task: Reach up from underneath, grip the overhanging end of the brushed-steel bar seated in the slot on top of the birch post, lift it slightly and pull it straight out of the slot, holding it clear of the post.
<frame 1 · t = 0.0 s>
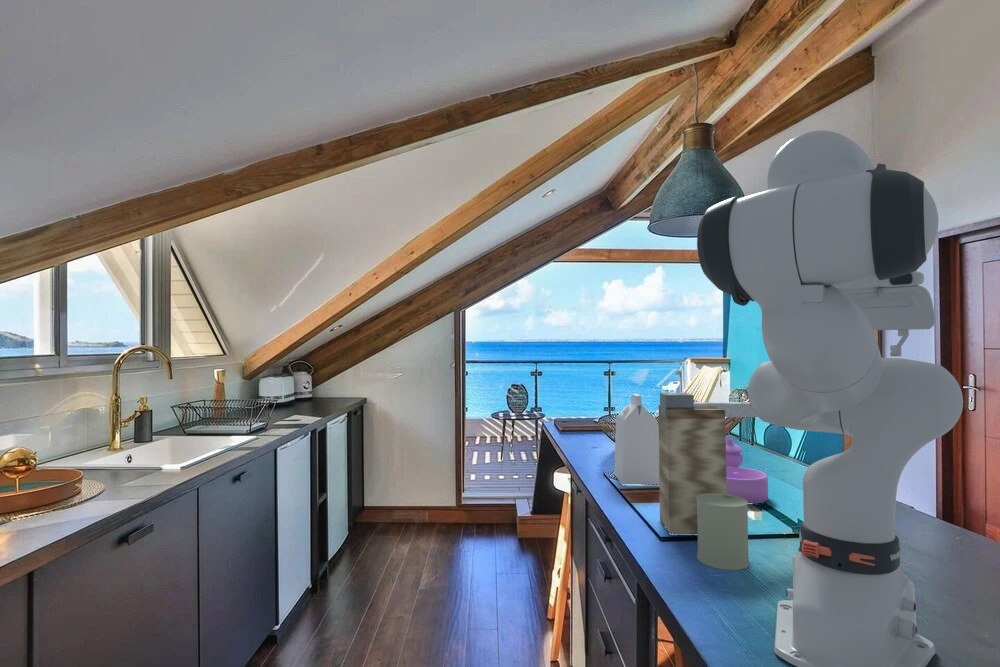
hand: (863, 355, 95), 39 cm above the worktop, tool pointing down, fingers open, 8 cm apart
post: (692, 528, 119), on the worktop
soupspoon: (838, 579, 94), on the worktop
can: (722, 561, 101), on the worktop
steel bar: (676, 415, 120), point 25 cm above the worktop, touching post
container set: (734, 492, 148), on the worktop
milk: (637, 481, 160), on the worktop
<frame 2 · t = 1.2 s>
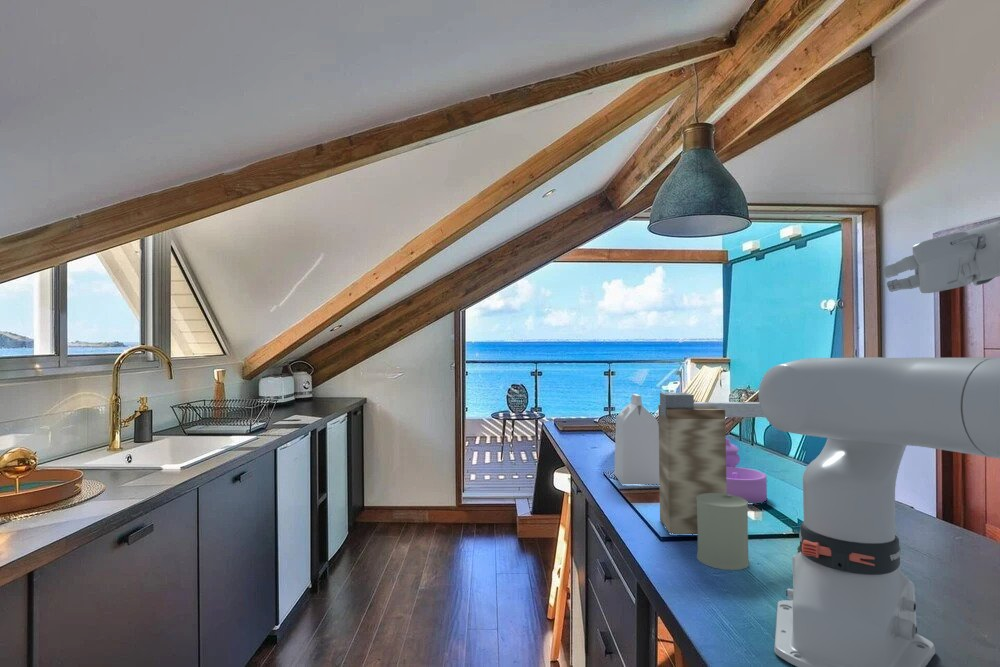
hand: (885, 280, 98), 53 cm above the worktop, tool tilted 75°, fingers open, 8 cm apart
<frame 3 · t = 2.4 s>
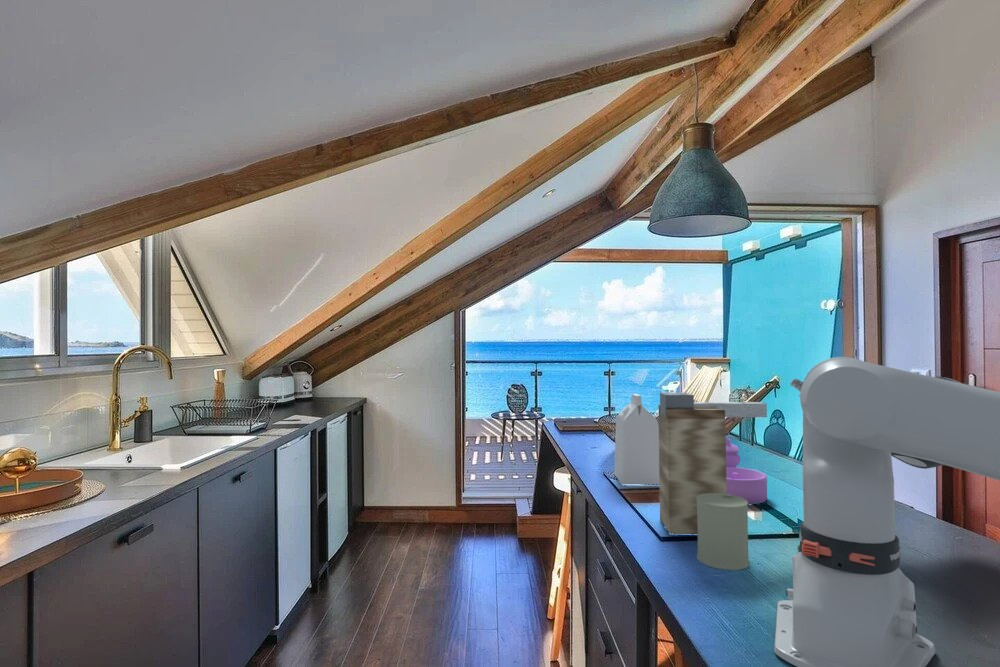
hand: (802, 382, 117), 32 cm above the worktop, tool pointing upward, fingers open, 8 cm apart
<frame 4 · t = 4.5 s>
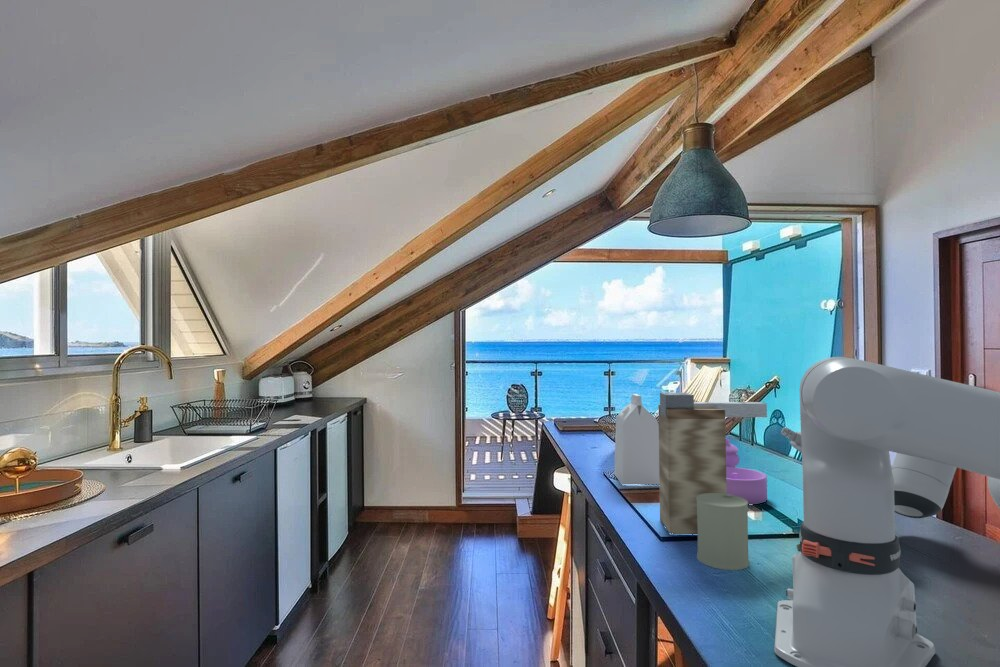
hand: (792, 433, 118), 21 cm above the worktop, tool pointing upward, fingers open, 8 cm apart
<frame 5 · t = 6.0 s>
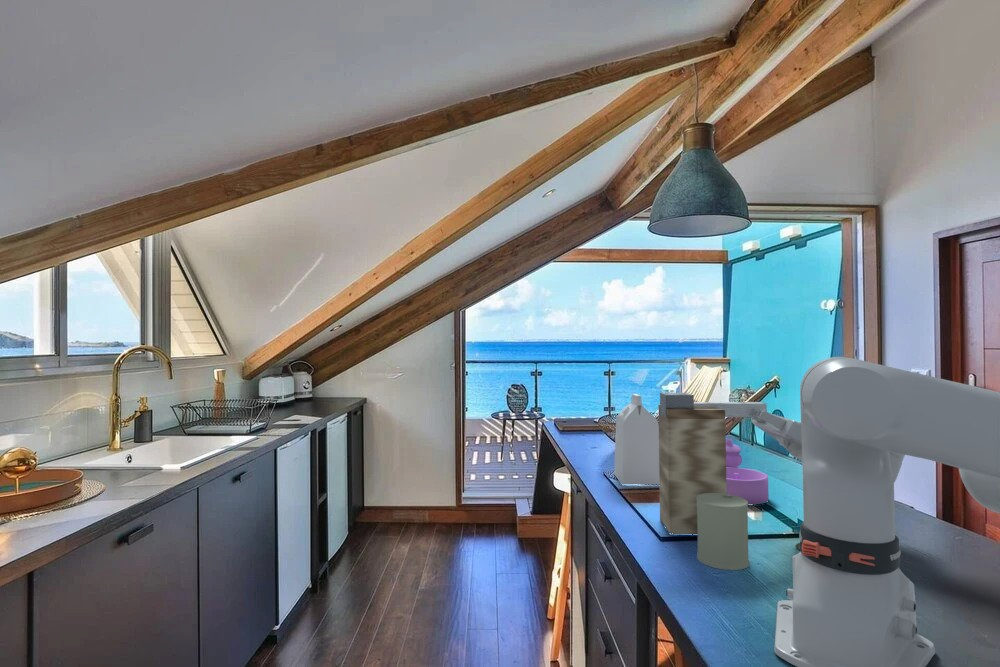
hand: (751, 410, 118), 26 cm above the worktop, tool pointing upward, fingers open, 8 cm apart
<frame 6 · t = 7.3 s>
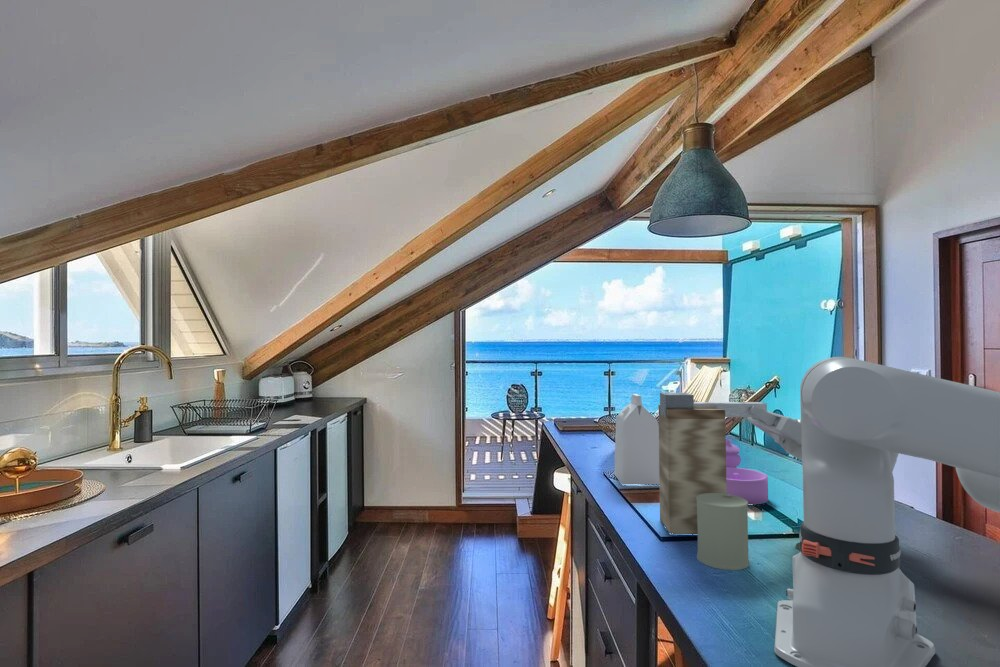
hand: (746, 407, 118), 27 cm above the worktop, tool pointing upward, fingers closed on steel bar, 3 cm apart
steel bar: (676, 415, 120), point 25 cm above the worktop, touching gripper, post
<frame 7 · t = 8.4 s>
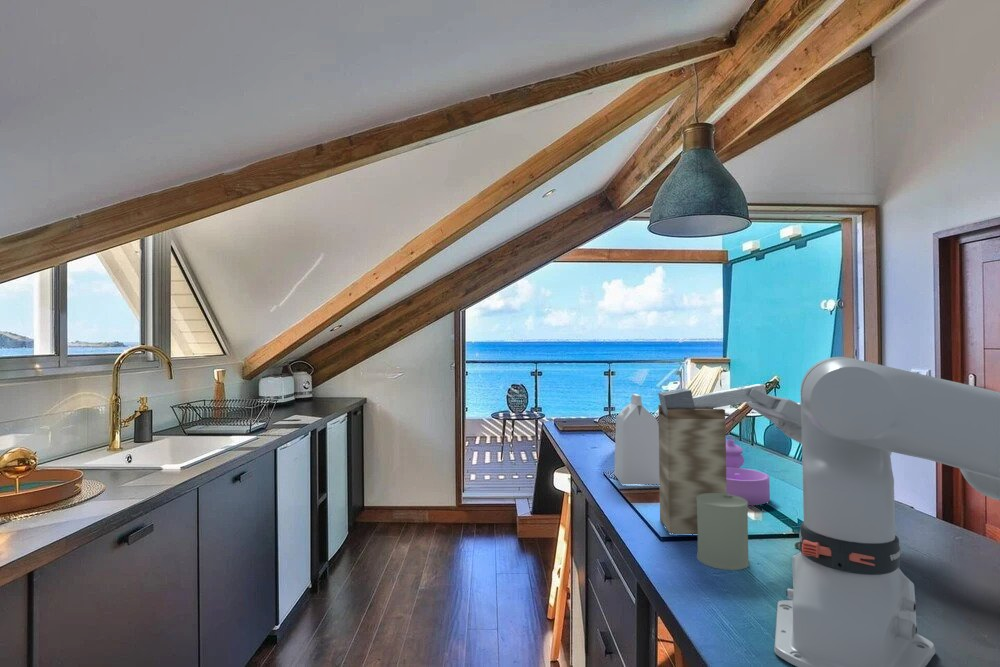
hand: (746, 390, 118), 31 cm above the worktop, tool pointing upward, fingers closed on steel bar, 3 cm apart
steel bar: (678, 413, 120), point 26 cm above the worktop, tilted 11°, touching gripper
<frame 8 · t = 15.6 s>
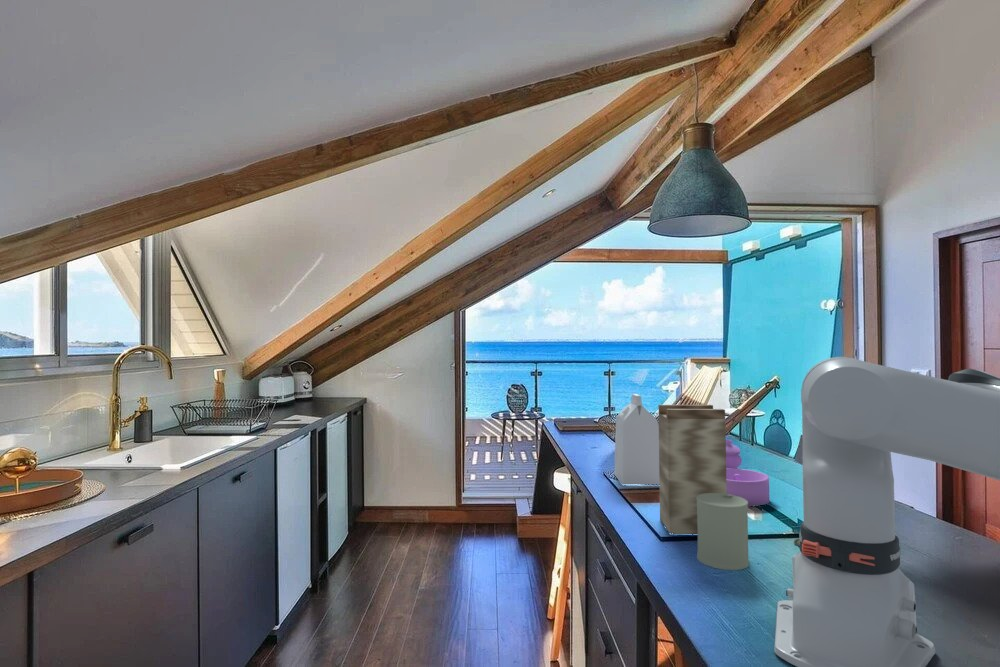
hand: (830, 374, 117), 34 cm above the worktop, tool pointing upward, fingers closed on steel bar, 3 cm apart
soupspoon: (826, 570, 98), on the worktop
steel bar: (827, 456, 116), point 16 cm above the worktop, tilted 76°, touching gripper
at the end: steel bar touching gripper; steel bar moved 33.3 cm from its start; the gripper is holding steel bar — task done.
